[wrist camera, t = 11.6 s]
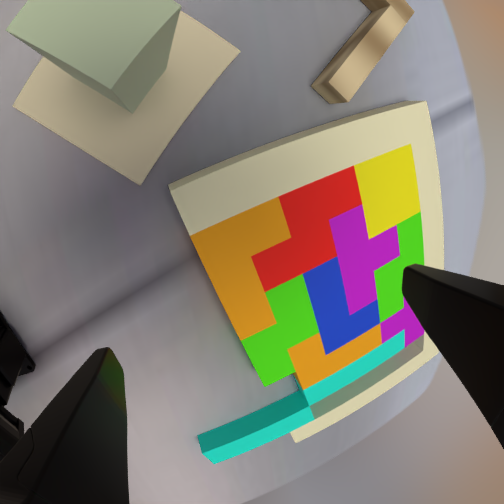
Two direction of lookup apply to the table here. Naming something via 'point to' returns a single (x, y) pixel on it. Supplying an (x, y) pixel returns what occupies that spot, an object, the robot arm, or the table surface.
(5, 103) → the table surface
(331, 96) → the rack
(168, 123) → the mat
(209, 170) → the puzzle game
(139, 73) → the tall green pillar
